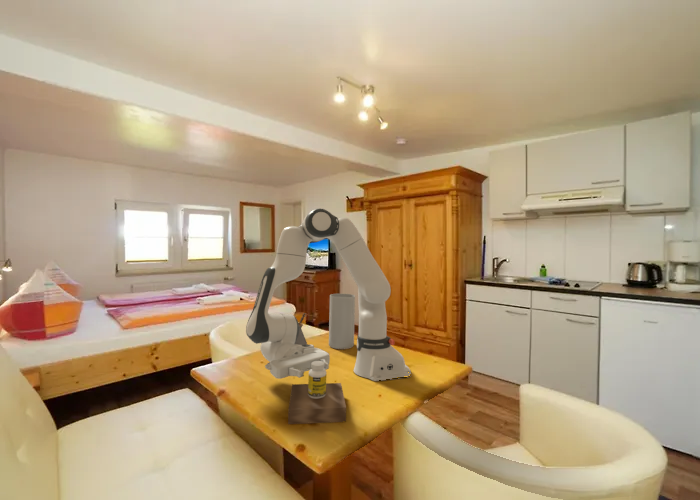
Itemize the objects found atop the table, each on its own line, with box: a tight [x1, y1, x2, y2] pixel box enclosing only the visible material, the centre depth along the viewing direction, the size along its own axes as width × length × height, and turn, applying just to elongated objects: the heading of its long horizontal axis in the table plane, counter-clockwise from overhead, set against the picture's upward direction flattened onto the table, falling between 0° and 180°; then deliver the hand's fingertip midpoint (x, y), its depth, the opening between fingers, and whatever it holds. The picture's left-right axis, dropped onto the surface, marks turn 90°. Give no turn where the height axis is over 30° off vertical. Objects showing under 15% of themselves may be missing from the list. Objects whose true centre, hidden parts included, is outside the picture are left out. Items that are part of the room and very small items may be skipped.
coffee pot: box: [295, 312, 309, 345], centre depth 152 cm, size 21×12×15 cm, turn 172°
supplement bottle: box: [307, 361, 327, 399], centre depth 96 cm, size 5×5×10 cm
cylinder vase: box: [328, 293, 356, 350], centre depth 157 cm, size 12×12×25 cm
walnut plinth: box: [287, 382, 347, 425], centre depth 96 cm, size 16×16×4 cm
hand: (314, 370), depth 97 cm, fingers open, 8 cm apart
